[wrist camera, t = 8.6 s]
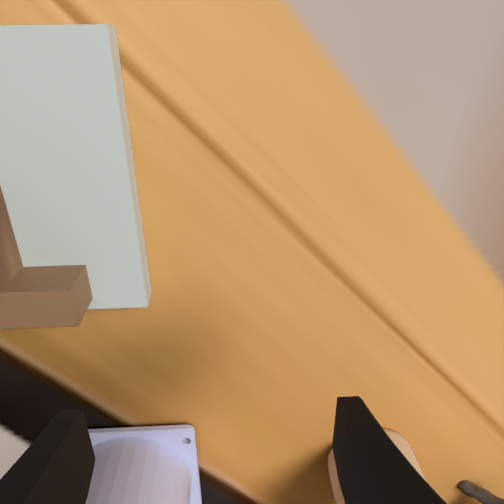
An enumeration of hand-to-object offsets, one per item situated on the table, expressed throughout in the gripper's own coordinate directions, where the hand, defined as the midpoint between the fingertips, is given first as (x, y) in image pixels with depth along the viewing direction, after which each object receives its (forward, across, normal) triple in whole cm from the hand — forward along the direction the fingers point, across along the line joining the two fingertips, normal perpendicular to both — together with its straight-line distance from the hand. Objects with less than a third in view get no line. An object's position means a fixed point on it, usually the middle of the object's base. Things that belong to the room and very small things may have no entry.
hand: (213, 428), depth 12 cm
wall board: (+10, +10, -4) cm, 15 cm away
